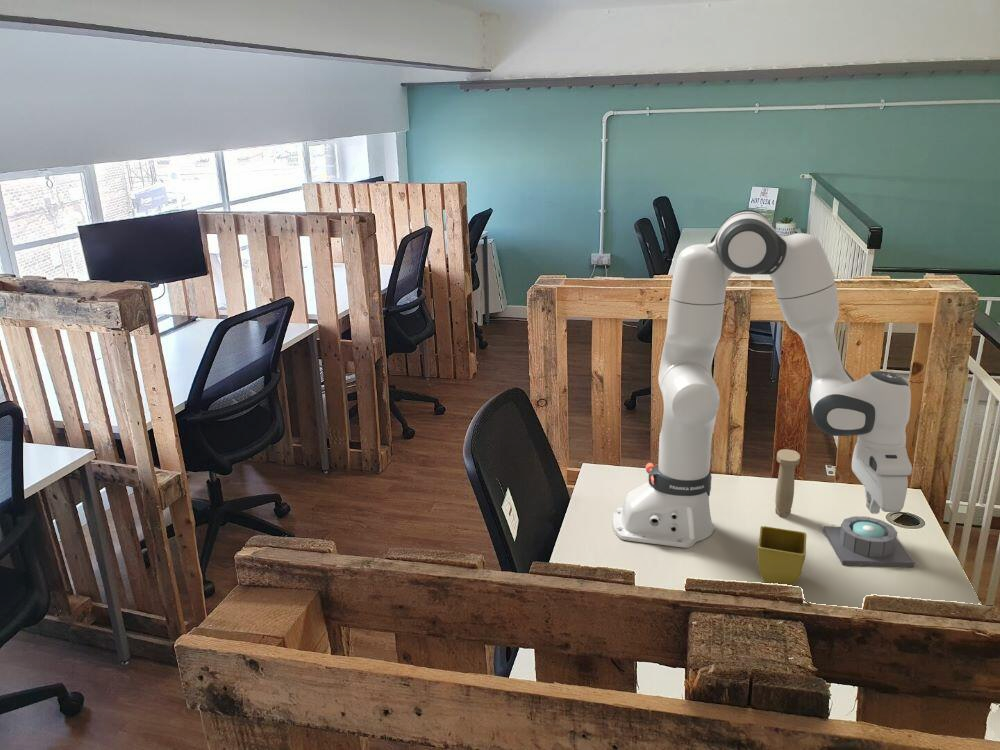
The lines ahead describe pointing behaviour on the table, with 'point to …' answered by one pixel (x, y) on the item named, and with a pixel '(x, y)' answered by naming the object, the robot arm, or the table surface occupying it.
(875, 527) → the teal rounded cylinder
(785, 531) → the flower pot
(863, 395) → the robot arm
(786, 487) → the handle
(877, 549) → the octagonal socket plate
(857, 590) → the table surface
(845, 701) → the table surface
